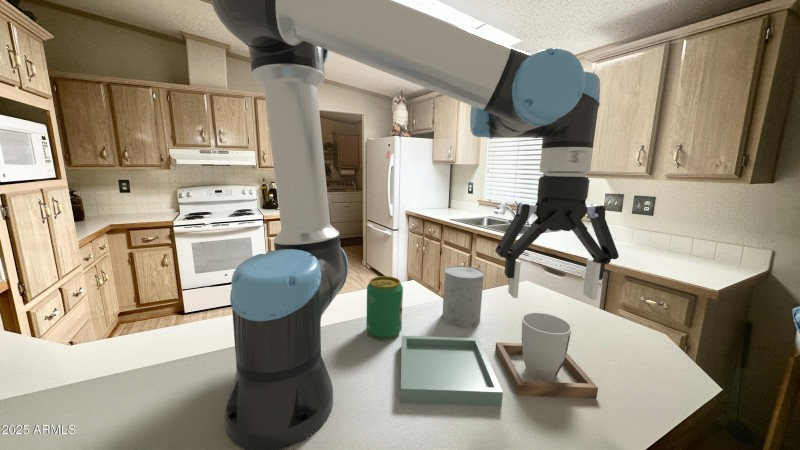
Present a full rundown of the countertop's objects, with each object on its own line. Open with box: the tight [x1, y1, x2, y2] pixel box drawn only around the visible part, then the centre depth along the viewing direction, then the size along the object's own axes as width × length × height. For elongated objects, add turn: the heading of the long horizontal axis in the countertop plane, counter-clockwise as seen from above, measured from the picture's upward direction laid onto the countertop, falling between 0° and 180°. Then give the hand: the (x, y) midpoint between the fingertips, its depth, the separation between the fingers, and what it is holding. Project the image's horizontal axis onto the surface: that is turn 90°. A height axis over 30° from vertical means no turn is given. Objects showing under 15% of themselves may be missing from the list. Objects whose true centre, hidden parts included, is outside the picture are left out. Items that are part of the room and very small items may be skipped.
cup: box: [521, 312, 572, 382], centre depth 57 cm, size 8×8×10 cm
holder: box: [495, 341, 599, 400], centre depth 58 cm, size 13×13×2 cm
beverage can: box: [366, 275, 404, 341], centre depth 70 cm, size 8×8×12 cm
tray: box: [400, 335, 504, 407], centre depth 57 cm, size 16×16×2 cm
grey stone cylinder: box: [441, 265, 485, 328], centre depth 78 cm, size 10×10×12 cm
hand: (551, 296), depth 55 cm, fingers open, 13 cm apart
